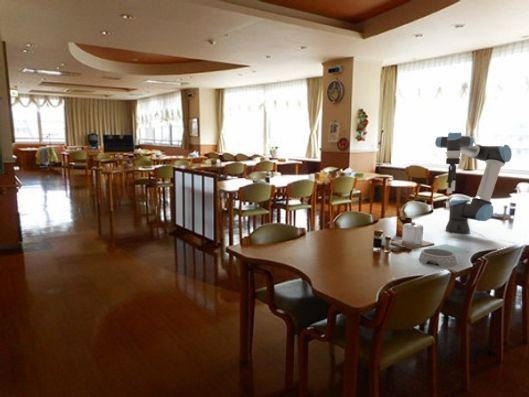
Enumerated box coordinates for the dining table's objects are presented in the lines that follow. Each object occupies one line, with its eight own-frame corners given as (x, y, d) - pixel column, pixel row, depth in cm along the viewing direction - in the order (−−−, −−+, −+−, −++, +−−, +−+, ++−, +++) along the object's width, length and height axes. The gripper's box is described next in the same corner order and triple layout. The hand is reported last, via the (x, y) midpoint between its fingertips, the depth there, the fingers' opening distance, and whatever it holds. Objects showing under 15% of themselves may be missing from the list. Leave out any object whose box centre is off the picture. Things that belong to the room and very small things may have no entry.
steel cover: (405, 239, 242) (406, 219, 240) (423, 241, 236) (424, 221, 234) (400, 243, 233) (401, 222, 231) (419, 245, 227) (421, 224, 225)
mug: (410, 239, 248) (411, 221, 246) (392, 235, 259) (393, 218, 257) (419, 237, 253) (420, 219, 251) (402, 233, 264) (402, 216, 263)
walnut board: (413, 240, 246) (413, 237, 246) (434, 245, 232) (434, 243, 232) (390, 243, 237) (390, 241, 237) (410, 250, 223) (410, 247, 223)
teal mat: (445, 244, 234) (446, 244, 234) (470, 251, 220) (470, 250, 220) (427, 248, 227) (427, 247, 227) (451, 255, 213) (451, 254, 213)
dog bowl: (424, 255, 214) (425, 245, 214) (460, 261, 203) (460, 251, 202) (414, 262, 201) (414, 252, 201) (451, 269, 190) (452, 259, 189)
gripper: (449, 156, 247) (447, 189, 250) (443, 158, 226) (441, 193, 229) (462, 157, 243) (459, 190, 246) (457, 158, 222) (454, 194, 225)
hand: (450, 192), depth 237 cm, fingers open, 13 cm apart
